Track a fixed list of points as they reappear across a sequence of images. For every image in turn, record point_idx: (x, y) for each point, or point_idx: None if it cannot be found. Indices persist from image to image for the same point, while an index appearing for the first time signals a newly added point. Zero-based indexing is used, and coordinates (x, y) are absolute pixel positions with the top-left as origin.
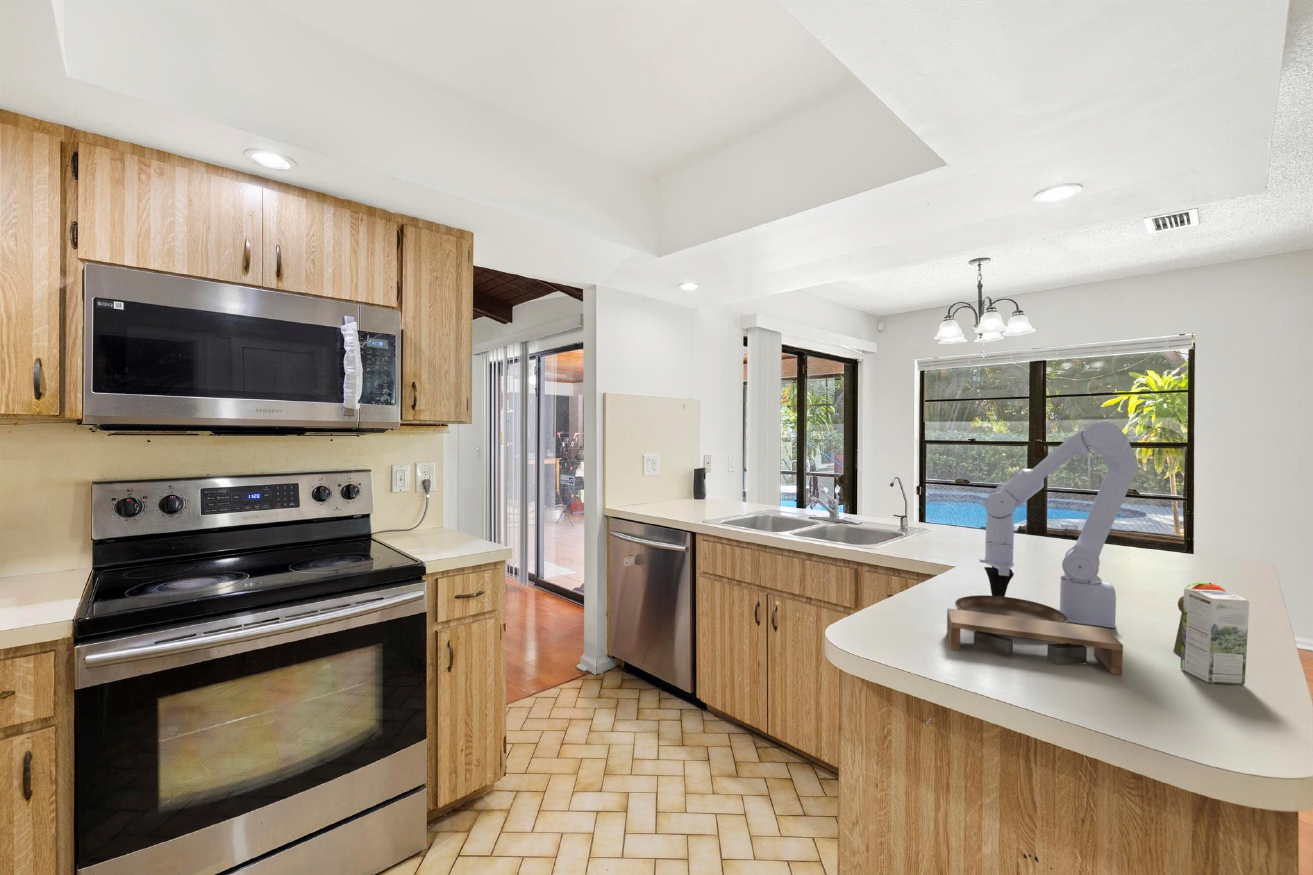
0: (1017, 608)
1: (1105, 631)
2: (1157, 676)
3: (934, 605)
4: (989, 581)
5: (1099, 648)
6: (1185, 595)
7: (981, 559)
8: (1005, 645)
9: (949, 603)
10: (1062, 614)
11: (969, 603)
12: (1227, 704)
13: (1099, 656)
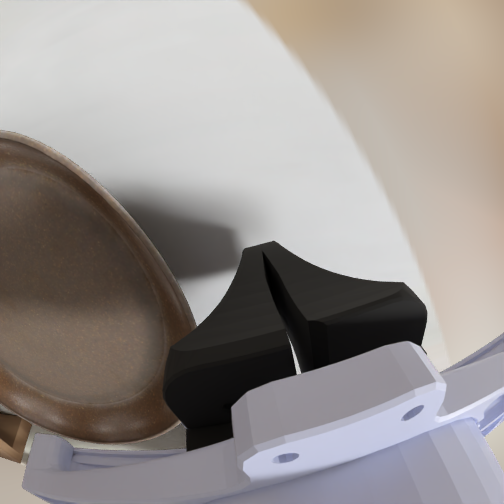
0: (175, 340)
1: (5, 457)
2: (28, 443)
3: (31, 23)
4: (313, 270)
5: (3, 429)
6: None
7: (292, 450)
8: None
9: (103, 46)
10: (119, 440)
11: (49, 161)
12: (24, 456)
13: (6, 419)
